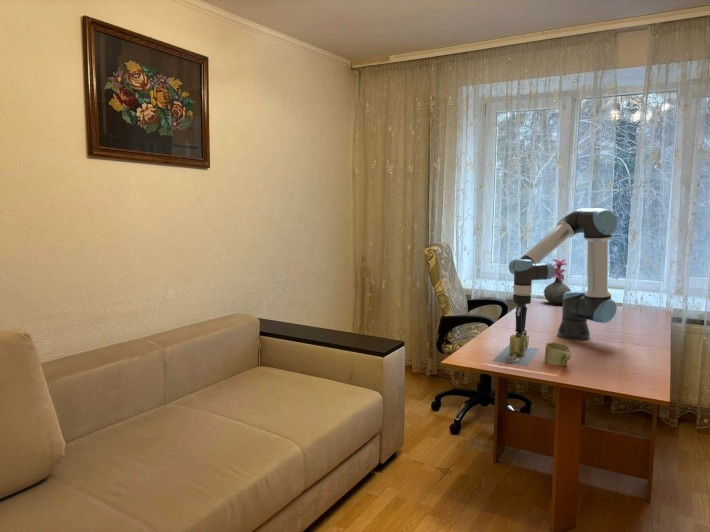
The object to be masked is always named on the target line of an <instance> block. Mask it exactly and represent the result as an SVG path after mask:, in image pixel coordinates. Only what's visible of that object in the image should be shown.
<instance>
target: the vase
mask: <svg viewBox="0 0 710 532" xmlns="http://www.w3.org/2000/svg"><path fill="white" fill-rule="evenodd" d="M566 261H567V260H566V259H563V258H561V259H560V260H559V259H556V258H555V259H552V262H555V263H554V264H552V265H553V266H554V269H555V272H554V273H555V274H554V276H553V277H552V279H555V280H554V282H551V283H550V284H548V285H547V286H546V287H545V288H544V290H543V296H544V298H545V300H546V301H548V302H549V303H551V305H555V306H563V295H564V293H565V292H570V291H572V290H571V288H570V287H569V286H567V285H566V284H564V282H565V276H564V272H567V271H566V270H565V269H561V268H562V266H566V267H567V266H568V265H567V262H566Z"/></svg>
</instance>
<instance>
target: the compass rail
mask: <svg viewBox="0 0 710 532" xmlns="http://www.w3.org/2000/svg"><path fill="white" fill-rule="evenodd" d="M523 332H524V336H526V348H528V347H530V344H529V343H530V334H529V333H528V334H527V330H526V331H523ZM518 355H519V352H515V353H514V354H513V355H512V356H511V357H509V356H507V357H506V363H505V364H509V363H510V364H509V365H513V364H512V363H513V360H514V359H515V358H516V357H517V356H518Z"/></svg>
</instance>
